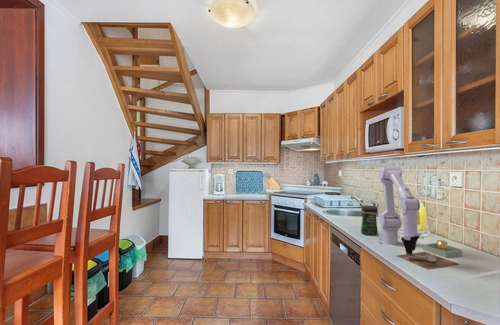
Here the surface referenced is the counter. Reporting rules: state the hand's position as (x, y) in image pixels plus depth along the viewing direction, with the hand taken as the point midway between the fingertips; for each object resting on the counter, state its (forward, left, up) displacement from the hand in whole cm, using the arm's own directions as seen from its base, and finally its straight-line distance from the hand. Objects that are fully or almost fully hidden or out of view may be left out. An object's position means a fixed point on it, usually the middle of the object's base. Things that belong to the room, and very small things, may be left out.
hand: (410, 251), depth 113 cm
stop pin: (-1, +22, -3) cm, 22 cm away
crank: (+4, +1, -3) cm, 5 cm away
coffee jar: (-40, +13, -4) cm, 42 cm away
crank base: (+4, +5, -4) cm, 7 cm away
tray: (-1, +22, -4) cm, 22 cm away
